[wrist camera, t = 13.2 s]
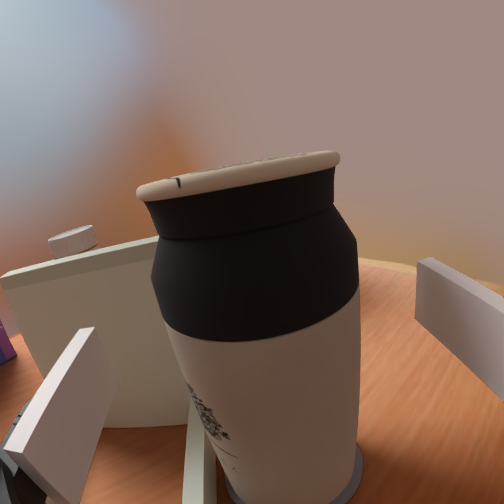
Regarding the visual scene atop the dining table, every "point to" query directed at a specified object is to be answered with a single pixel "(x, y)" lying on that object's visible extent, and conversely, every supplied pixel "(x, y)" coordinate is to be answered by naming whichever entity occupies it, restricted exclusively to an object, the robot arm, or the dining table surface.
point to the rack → (115, 342)
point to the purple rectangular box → (5, 347)
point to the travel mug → (264, 320)
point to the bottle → (73, 242)
